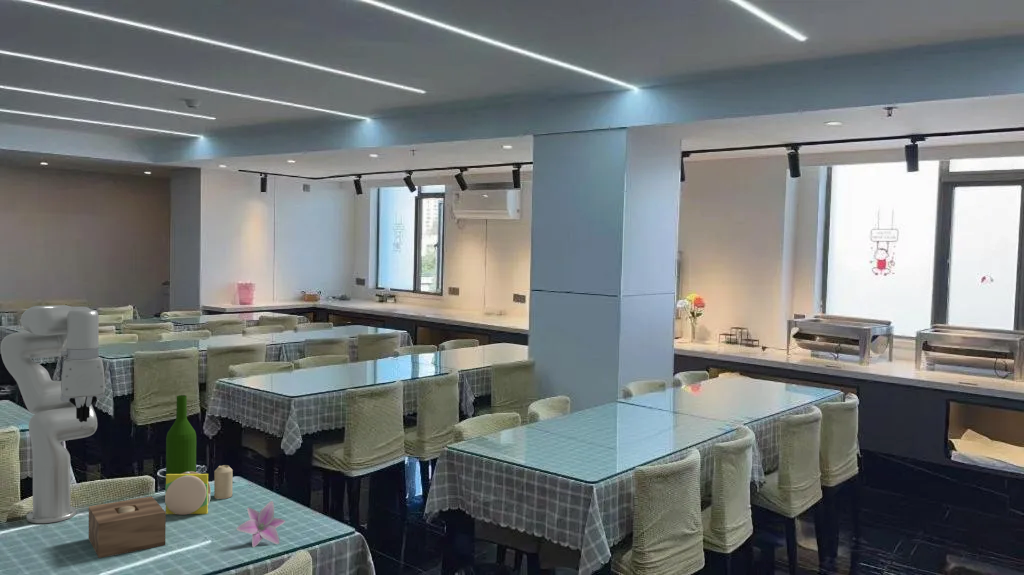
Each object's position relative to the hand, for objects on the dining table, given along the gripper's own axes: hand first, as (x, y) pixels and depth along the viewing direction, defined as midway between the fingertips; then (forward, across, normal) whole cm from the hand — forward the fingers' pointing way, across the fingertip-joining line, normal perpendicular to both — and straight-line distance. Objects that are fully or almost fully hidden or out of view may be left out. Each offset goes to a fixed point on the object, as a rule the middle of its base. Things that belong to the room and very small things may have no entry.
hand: (82, 420), depth 209 cm
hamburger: (+32, +29, +5) cm, 44 cm away
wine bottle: (+32, +31, +22) cm, 50 cm away
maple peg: (+30, +9, -11) cm, 33 cm away
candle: (+32, +42, +14) cm, 55 cm away
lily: (+32, +39, -30) cm, 59 cm away
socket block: (+32, +9, -11) cm, 35 cm away
